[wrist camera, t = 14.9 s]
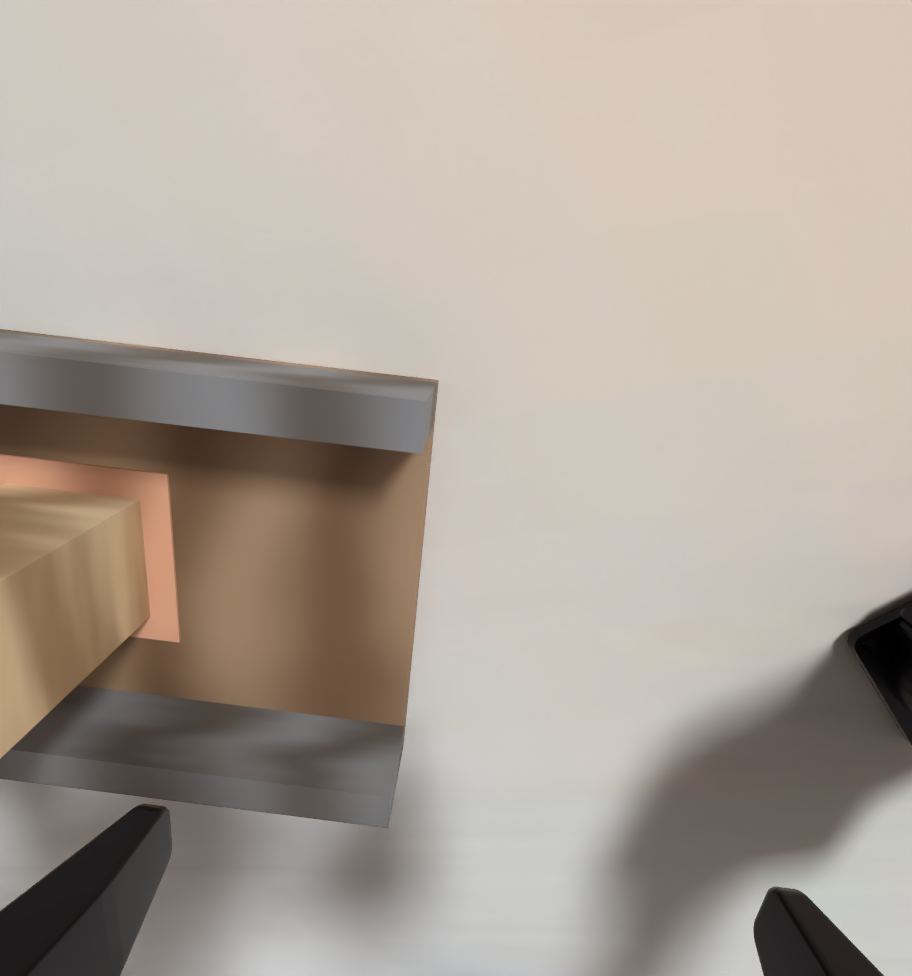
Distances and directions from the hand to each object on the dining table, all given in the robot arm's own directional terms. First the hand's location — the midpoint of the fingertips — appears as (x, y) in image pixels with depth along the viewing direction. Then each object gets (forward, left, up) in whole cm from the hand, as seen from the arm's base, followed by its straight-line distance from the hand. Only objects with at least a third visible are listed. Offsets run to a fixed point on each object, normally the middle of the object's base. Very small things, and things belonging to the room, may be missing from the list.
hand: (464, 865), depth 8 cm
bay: (+6, +10, -13) cm, 18 cm away
